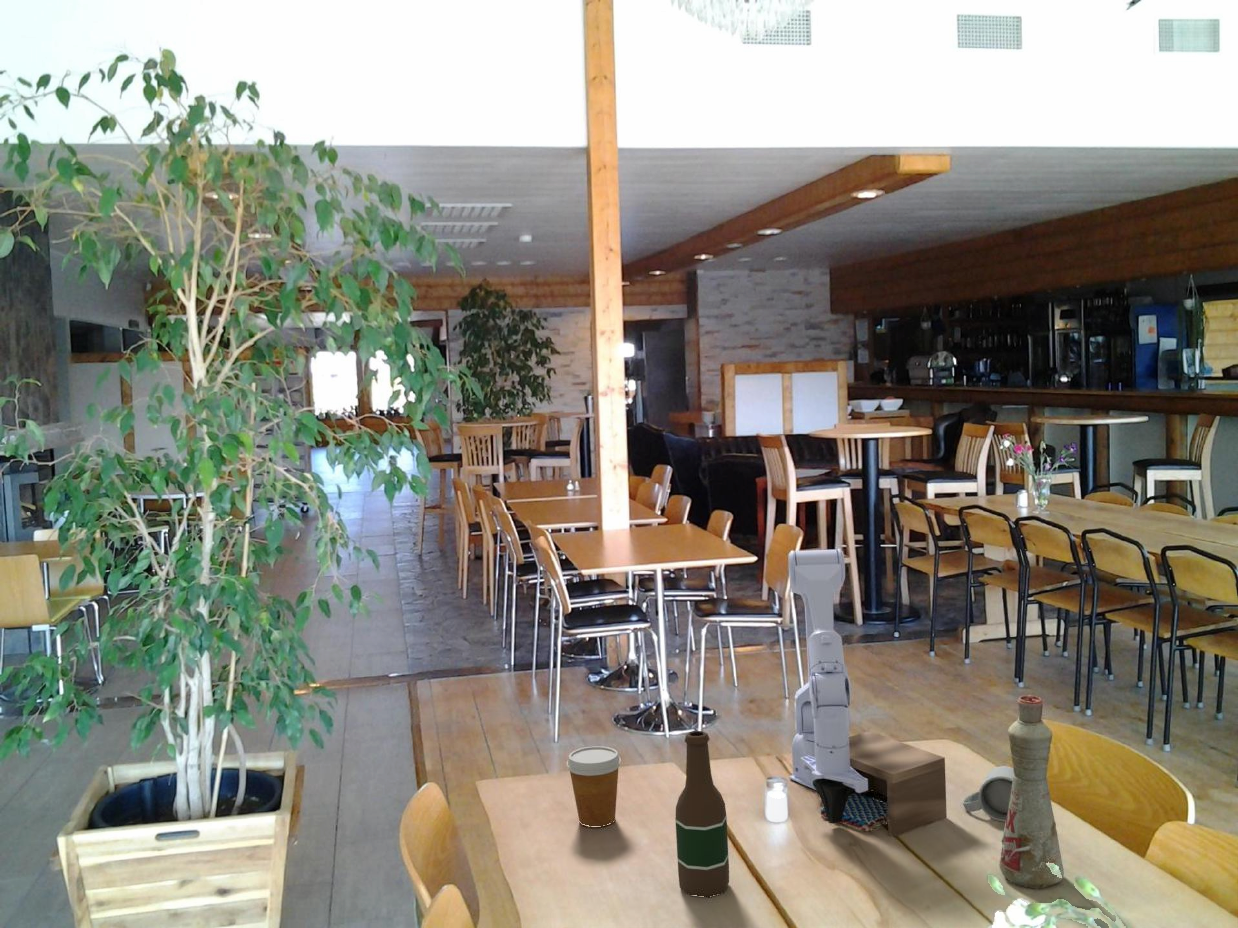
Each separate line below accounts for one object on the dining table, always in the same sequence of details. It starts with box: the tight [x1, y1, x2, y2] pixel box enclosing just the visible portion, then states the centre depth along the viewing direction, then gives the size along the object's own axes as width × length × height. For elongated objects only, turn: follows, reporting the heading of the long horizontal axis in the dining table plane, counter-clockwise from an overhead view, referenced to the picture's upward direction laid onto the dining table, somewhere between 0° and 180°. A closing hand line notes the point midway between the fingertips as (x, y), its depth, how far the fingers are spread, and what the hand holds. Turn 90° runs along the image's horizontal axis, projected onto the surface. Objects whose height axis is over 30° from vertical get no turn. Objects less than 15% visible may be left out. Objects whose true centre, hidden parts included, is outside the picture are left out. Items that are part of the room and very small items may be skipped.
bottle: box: [998, 694, 1065, 890], centre depth 171 cm, size 9×9×28 cm
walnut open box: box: [820, 730, 948, 837], centre depth 199 cm, size 18×12×10 cm, turn 32°
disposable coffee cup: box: [566, 745, 622, 826], centre depth 202 cm, size 10×10×12 cm
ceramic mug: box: [962, 765, 1014, 823], centre depth 196 cm, size 11×8×8 cm
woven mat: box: [819, 792, 888, 832], centre depth 198 cm, size 10×11×2 cm
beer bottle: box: [674, 730, 730, 898], centre depth 174 cm, size 8×8×24 cm
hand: (835, 820), depth 194 cm, fingers closed
